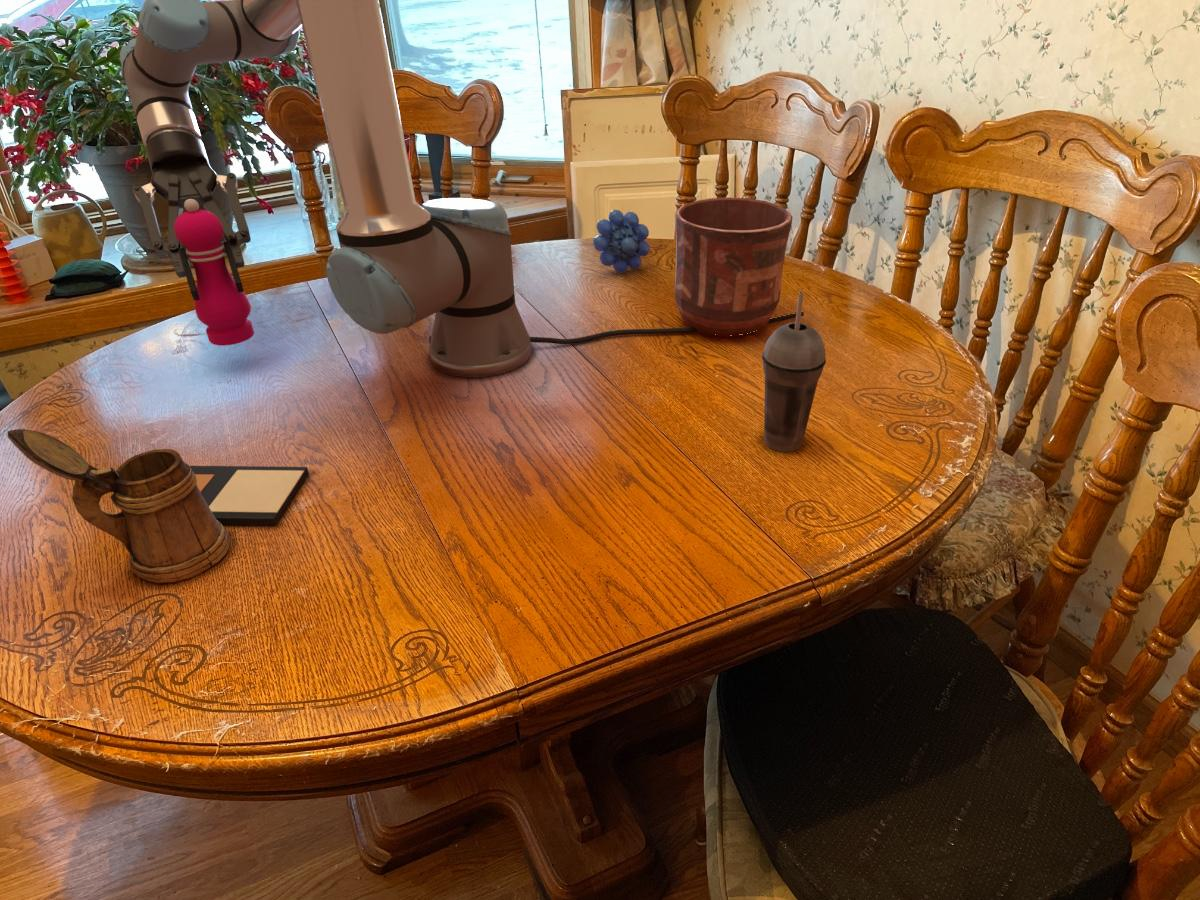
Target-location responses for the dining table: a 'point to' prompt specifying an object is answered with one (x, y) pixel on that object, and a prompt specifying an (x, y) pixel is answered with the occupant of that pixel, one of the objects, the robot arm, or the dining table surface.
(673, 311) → the dining table surface
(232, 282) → the pepper mill
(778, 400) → the beverage cup
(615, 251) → the blue ball flower
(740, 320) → the pottery
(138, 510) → the wooden mug
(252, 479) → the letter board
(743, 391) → the dining table surface
